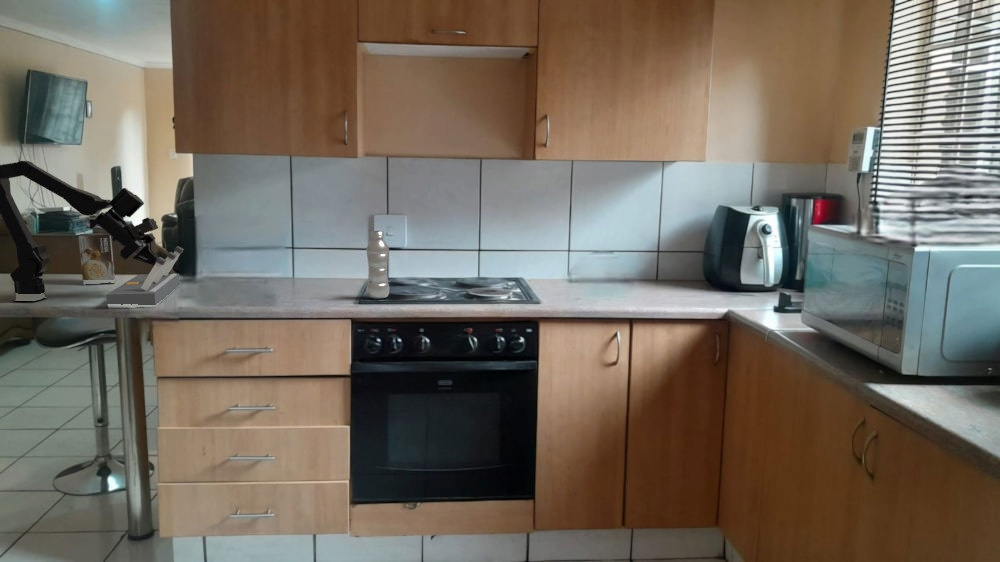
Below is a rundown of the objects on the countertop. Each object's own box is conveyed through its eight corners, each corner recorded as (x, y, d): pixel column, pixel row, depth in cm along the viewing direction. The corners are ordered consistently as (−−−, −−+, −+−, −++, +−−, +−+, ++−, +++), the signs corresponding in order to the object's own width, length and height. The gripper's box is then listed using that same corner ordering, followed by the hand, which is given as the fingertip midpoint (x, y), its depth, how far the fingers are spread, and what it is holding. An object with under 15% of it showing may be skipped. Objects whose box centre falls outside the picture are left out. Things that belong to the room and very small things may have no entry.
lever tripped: (150, 280, 211) (168, 252, 211) (152, 278, 213) (170, 251, 213) (156, 283, 211) (175, 256, 211) (159, 282, 214) (177, 255, 214)
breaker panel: (107, 309, 194) (106, 293, 194) (139, 287, 228) (138, 273, 227) (155, 307, 197) (154, 292, 196) (179, 286, 231) (179, 272, 230)
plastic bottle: (369, 296, 217) (367, 230, 214) (391, 296, 217) (390, 230, 214) (364, 300, 211) (363, 232, 207) (387, 300, 210) (386, 232, 207)
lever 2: (160, 273, 223) (176, 247, 223) (162, 272, 226) (177, 246, 226) (166, 276, 224) (182, 250, 224) (168, 275, 226) (183, 249, 226)
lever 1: (139, 287, 198) (157, 257, 198) (142, 285, 201) (160, 256, 201) (146, 291, 199) (164, 261, 199) (149, 289, 202) (166, 260, 201)
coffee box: (116, 281, 239) (112, 232, 236) (114, 284, 233) (110, 234, 231) (84, 282, 235) (80, 233, 233) (82, 285, 230) (77, 235, 227)
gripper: (130, 211, 199) (175, 250, 204) (146, 207, 217) (187, 243, 221) (100, 239, 199) (146, 278, 203) (119, 233, 217) (160, 269, 221)
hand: (161, 266), depth 212 cm, fingers closed, pressing on lever tripped
